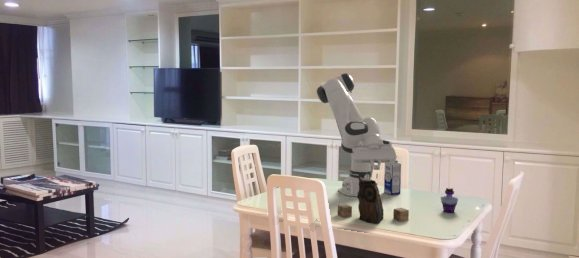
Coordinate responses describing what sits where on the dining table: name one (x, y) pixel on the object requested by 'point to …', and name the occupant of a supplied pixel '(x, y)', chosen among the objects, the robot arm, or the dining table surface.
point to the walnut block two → (401, 214)
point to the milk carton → (392, 178)
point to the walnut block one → (344, 210)
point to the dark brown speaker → (369, 201)
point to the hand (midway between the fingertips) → (376, 169)
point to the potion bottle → (449, 201)
